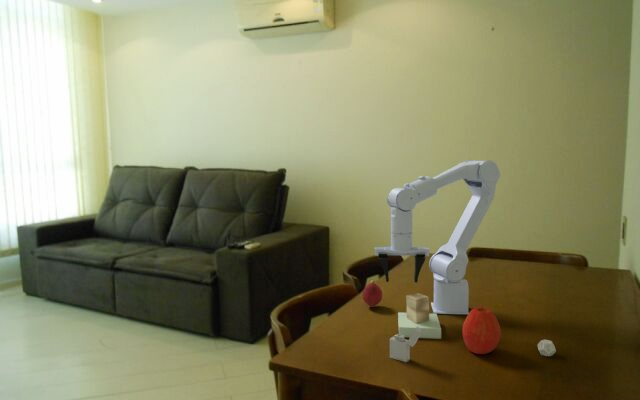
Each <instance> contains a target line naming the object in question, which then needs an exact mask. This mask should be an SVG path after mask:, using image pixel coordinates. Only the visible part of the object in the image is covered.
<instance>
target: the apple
mask: <svg viewBox="0 0 640 400" xmlns="http://www.w3.org/2000/svg"><path fill="white" fill-rule="evenodd" d="M462 337H463V338H462V339H463V343H465V346H466V348H467V349H468V351H470V352H471V353H473V354H476V355H485V354H489V353H491V352H493V351H494V350H495V349H496V347H497V346H498V344H499V342H500V340H501V337H502V330H501V326H500V324H499V321H498V318H497V317H496V315H495V314H494V312H493V311H492V310H491V309H490V308H489V307H486V306H484V305H482V306H476V307H473V308H472V309H471V310H470V311H469V314H467V316H466V318H465V319H464V322H463V324H462Z"/></svg>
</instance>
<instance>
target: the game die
mask: <svg viewBox="0 0 640 400" xmlns="http://www.w3.org/2000/svg"><path fill="white" fill-rule="evenodd" d="M537 349H538V351H539V353H540V355H541V356H544V357H547V356H548V357H552V356H554V354H555V353H556V352H557V350H556V347H555V344H554V343H553V341H552V340H549V339H547V338H546V339H542V340H540V341H539V342H538V343H537Z"/></svg>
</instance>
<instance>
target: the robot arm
mask: <svg viewBox="0 0 640 400" xmlns="http://www.w3.org/2000/svg"><path fill="white" fill-rule="evenodd" d="M499 169H500V168H499V166H498V164H497V163H496V162H495V161H493V160H473V159H468V160H465V161H463V162H459V163H458V164H456V165H455V166H452V167H451V168H449V169H447V170H445V171H443V172H441V173H438V174H437V175H435V176H433V177H430V176H429V175H426V176H425V175H420V176H418V179H417V180H414V181H412V182H410V183H404V184H403V187H395V188H393V189H391V190H390V192H389V194H388V197H386V202H387V204H388V206H389V207H390V246H379V247H377V246H376V247H375V246H374V256H377V257H378V260H379V263H380V264H381V267H382V269H383V272H384V275H385V282H386V283H389V282H390V281H389V280H390V277H389V256H413V257H414V275H413V278H414V279H413V281H414V283H416V284H417V283H418V281H419V280H418V279H419V276H420V275H419V274H420V272H421V269H422V267H423V265H424V264H425V261H426V257H430V248H429V247H419V246H413V210H414V208H415V207H416V205H418V204H419V203H422V202H423V201H426V200H427V199H431V197H434V196H435V195H437V193H438V190H439V189H441V188H443V187H445V186H448V185H451V184H453V183H456V182H458V181H461V180H463V181H464V183H465V184H466V185H467V187H468V189H469V190H470V192H471V195H472V196H471V197H470V200H469V201H468V202H467V205H466V207H465V208H464V211H463V213H462V215H461V216H460V219H459V220H458V222H457V224H456V226H455V228H454V230H453V232H452V234H451V236H450V237H449V239H448V241H447V243H445V244H444V245H441V246H440V247H439V248H438V250H437V251H436V252H435V253H434V254H433V255H432V256H431V257H430V259H429V263H428V267H429V270H430V271H431V272H432V273H433V275H432V276H433V302H432V301H431V302H430V306H431V308H432V314H437V315H438V314H441V315H468V314H469V313H470V311H469V301H470V300H469V298H470V297H469V296H470V295H469V293H470V291H469V282H468V280H467V279H464V277H465V275H466V271H467V266H468V263H469V258H468V255H467V250H468V248H469V246H470V245H471V243H472V241H473V238H474V237H475V235H476V233H477V231H478V229H479V227H480V226H481V223H482V221H483V219H484V218H485V216H486V214H487V212H488V210H489V208H490V206H491V204H492V203H493V200H494V198H495V195H496V187H497V183H498V181H499V180H500V178H501V177H502V175H501V172H500V170H499Z"/></svg>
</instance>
